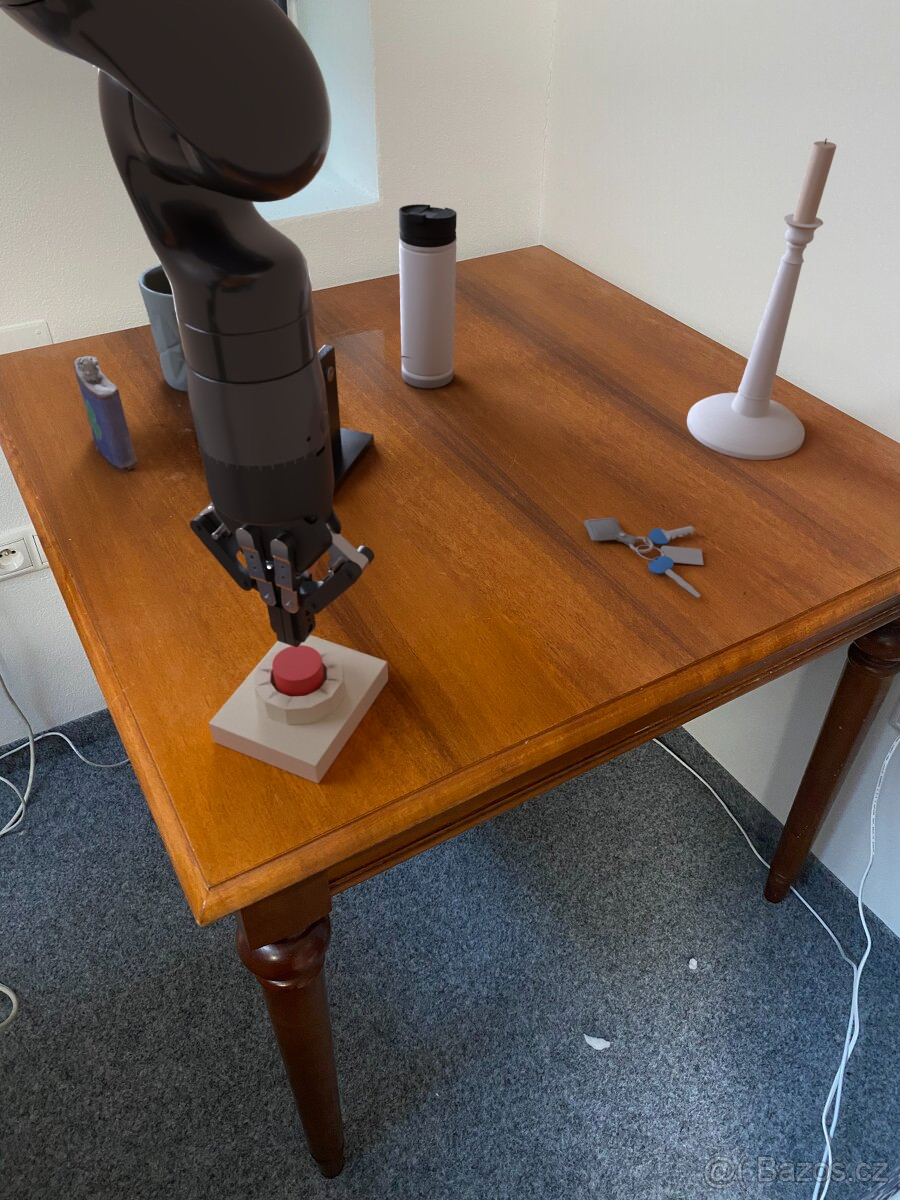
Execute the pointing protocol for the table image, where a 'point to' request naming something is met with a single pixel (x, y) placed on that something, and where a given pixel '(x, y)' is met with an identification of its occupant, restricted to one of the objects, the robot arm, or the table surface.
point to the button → (298, 670)
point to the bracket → (344, 442)
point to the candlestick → (767, 348)
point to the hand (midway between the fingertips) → (295, 636)
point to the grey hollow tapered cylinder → (164, 325)
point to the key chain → (658, 565)
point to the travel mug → (427, 294)
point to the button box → (301, 711)
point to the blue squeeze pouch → (105, 414)
